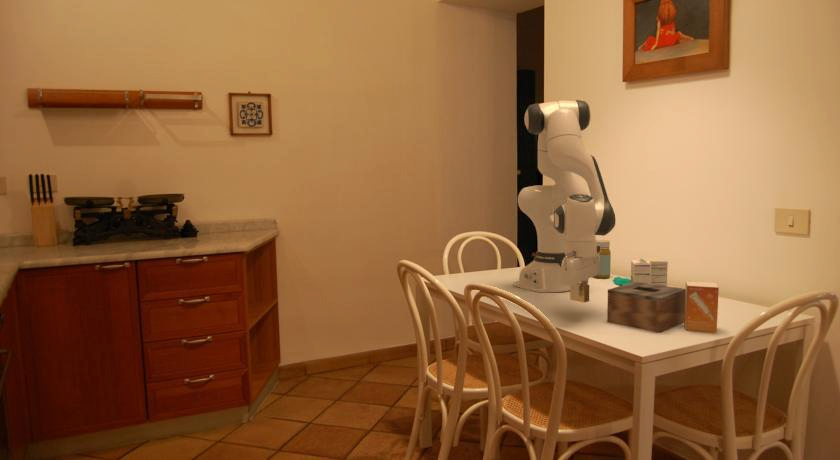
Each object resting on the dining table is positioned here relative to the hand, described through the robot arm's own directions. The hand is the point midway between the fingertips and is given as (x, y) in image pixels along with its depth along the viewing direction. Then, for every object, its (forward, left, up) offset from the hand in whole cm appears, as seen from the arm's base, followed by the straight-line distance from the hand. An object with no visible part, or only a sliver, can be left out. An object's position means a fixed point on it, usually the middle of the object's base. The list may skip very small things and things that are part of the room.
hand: (579, 294), depth 175 cm
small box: (+29, +16, -8) cm, 34 cm away
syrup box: (+3, +32, -8) cm, 33 cm away
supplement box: (-1, +49, -8) cm, 49 cm away
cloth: (-15, +58, -9) cm, 61 cm away
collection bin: (+15, +12, -8) cm, 21 cm away
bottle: (-31, +65, -8) cm, 72 cm away
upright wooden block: (0, 0, -2) cm, 2 cm away
